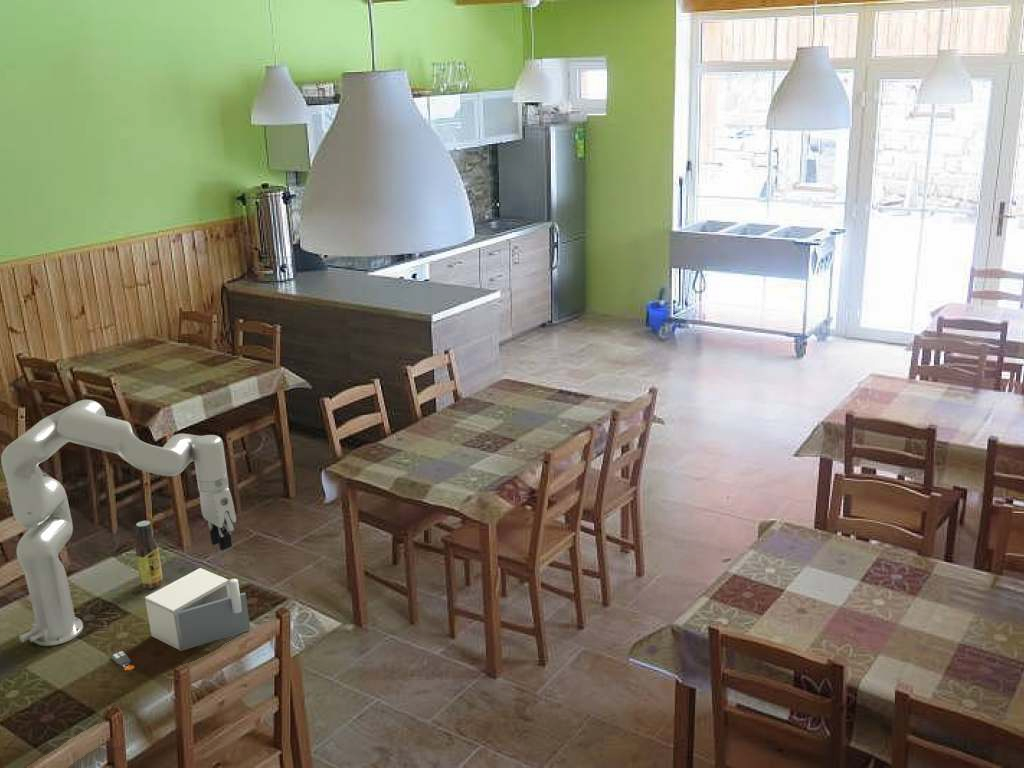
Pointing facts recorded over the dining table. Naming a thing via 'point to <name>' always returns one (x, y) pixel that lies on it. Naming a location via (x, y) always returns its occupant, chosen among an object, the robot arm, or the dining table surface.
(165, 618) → the case
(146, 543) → the sauce bottle
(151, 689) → the dining table surface
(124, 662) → the key chain
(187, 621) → the side door
